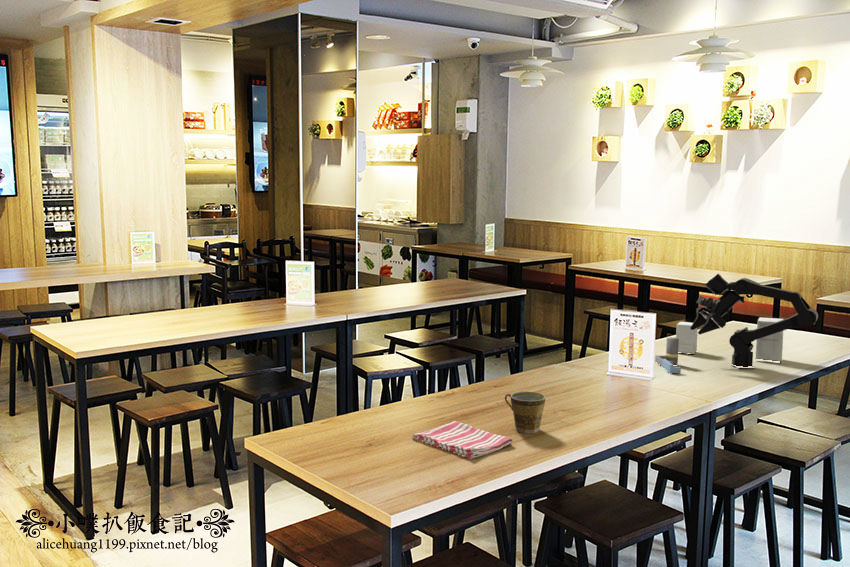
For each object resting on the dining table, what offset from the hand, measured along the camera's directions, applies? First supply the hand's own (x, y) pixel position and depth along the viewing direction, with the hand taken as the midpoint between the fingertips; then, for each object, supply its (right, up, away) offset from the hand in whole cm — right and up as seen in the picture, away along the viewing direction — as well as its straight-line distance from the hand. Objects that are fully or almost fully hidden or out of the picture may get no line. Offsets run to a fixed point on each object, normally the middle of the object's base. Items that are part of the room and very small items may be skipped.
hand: (694, 331), depth 297 cm
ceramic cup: (-77, -24, -77) cm, 111 cm away
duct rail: (-12, -14, -3) cm, 18 cm away
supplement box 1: (+5, -11, +23) cm, 26 cm away
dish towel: (-95, -26, -88) cm, 132 cm away
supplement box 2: (+33, -13, +10) cm, 37 cm away
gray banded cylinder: (-8, -13, +2) cm, 16 cm away
